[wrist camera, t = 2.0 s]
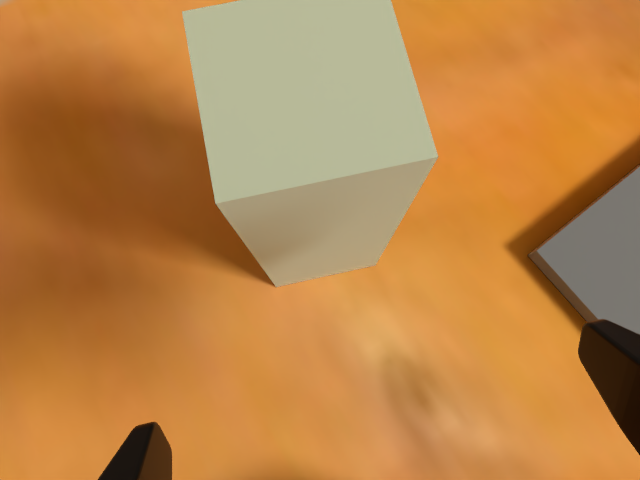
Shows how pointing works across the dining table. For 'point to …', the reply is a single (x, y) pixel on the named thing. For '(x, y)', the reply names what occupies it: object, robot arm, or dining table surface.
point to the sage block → (309, 129)
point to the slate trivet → (600, 256)
